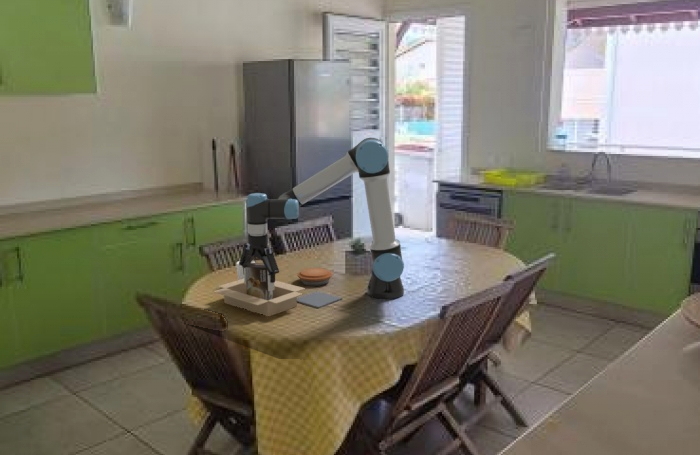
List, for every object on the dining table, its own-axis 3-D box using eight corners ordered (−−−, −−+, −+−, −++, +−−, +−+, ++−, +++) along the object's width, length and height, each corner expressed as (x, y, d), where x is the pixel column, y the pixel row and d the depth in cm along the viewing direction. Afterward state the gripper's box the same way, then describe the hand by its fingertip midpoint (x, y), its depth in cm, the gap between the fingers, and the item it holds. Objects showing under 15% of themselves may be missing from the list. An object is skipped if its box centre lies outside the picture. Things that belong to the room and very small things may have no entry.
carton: (313, 305, 247) (312, 290, 246) (265, 322, 228) (265, 307, 227) (255, 288, 268) (255, 275, 267) (207, 303, 249) (207, 289, 248)
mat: (342, 299, 254) (342, 297, 254) (318, 308, 243) (318, 306, 243) (316, 292, 263) (316, 291, 262) (292, 301, 252) (292, 299, 252)
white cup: (240, 288, 268) (239, 265, 266) (235, 283, 275) (234, 261, 273) (258, 285, 272) (257, 263, 270) (252, 281, 279) (251, 259, 277)
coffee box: (273, 302, 250) (272, 263, 247) (269, 307, 244) (267, 267, 241) (251, 301, 252) (250, 262, 249) (246, 306, 246) (244, 266, 242)
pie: (339, 280, 280) (339, 269, 279) (320, 289, 267) (319, 277, 266) (310, 275, 288) (310, 264, 287) (290, 283, 275) (290, 272, 274)
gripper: (287, 236, 237) (288, 291, 242) (243, 227, 253) (245, 278, 257) (273, 240, 232) (274, 295, 236) (228, 230, 247) (230, 282, 252)
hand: (259, 287), depth 247 cm, fingers open, 13 cm apart
